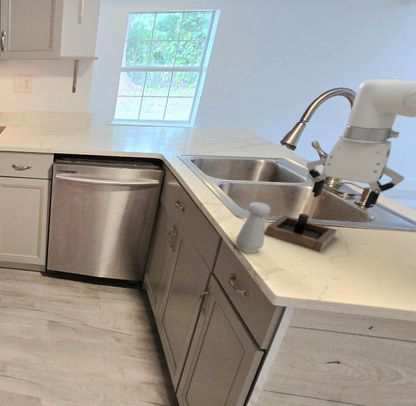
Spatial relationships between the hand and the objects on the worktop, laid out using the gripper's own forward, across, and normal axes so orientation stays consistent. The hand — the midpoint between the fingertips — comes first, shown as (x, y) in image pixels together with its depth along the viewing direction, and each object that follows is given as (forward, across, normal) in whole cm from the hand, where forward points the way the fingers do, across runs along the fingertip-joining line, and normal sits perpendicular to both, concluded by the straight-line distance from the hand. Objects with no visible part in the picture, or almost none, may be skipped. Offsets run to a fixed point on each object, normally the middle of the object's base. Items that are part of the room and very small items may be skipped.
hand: (341, 200), depth 92 cm
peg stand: (+12, +6, 0) cm, 14 cm away
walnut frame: (+12, +6, 0) cm, 14 cm away
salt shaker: (+12, +11, +19) cm, 25 cm away
